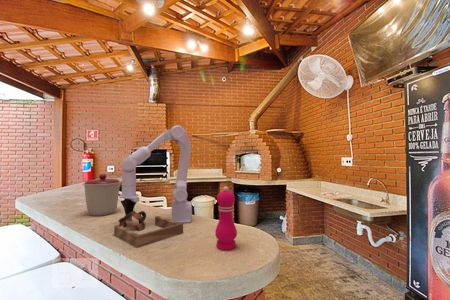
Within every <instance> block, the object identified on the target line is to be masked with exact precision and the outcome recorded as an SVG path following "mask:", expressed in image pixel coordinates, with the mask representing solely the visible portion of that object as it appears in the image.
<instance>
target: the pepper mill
mask: <svg viewBox="0 0 450 300" xmlns="http://www.w3.org/2000/svg"><path fill="white" fill-rule="evenodd" d="M216 201H217V204H218V206H217V207H218V211H219V220H218V223H217V226H216V227H215V231H214V232H215V234H214V235H215V237H216V239H217V241H216V247H217V249H219V250H222V251H230V250H234V249H235V248H236V243H237V242H236V240H235V239H236V238H237V236H238V232H237V230H238V229H237V227H236V225H235V223H234V219H233V211H234V205H233V204H235V201H236V197H235V194H234V193H233V192H232V191H231V190H229V187H228V186H223V188H222V191H220V192H219V193H218V194H217V196H216Z"/></svg>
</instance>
